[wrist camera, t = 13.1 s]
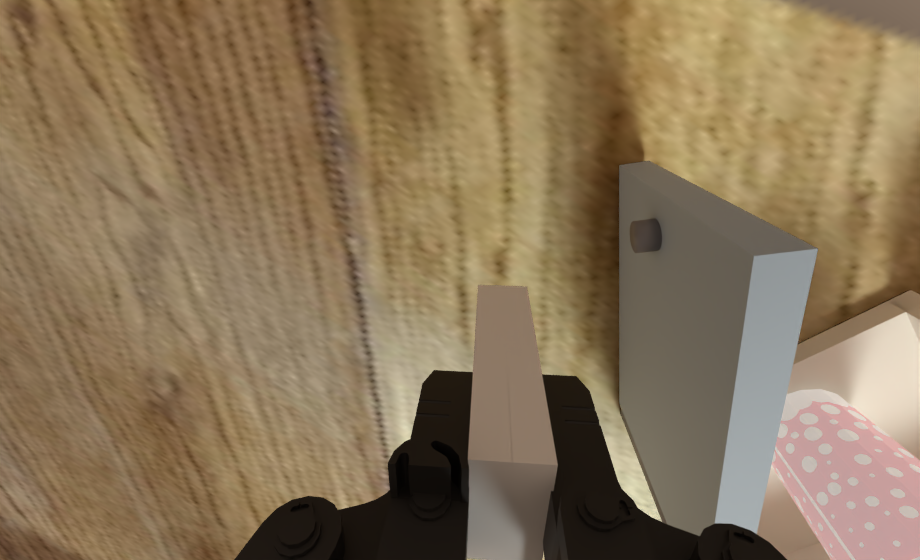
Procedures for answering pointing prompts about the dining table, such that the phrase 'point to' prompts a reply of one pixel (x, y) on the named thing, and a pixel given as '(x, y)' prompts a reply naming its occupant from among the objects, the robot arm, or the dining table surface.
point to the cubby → (848, 401)
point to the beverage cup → (848, 479)
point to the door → (705, 343)
